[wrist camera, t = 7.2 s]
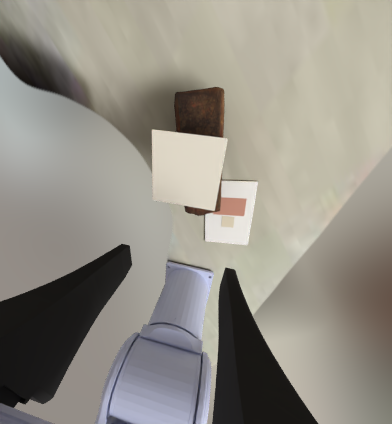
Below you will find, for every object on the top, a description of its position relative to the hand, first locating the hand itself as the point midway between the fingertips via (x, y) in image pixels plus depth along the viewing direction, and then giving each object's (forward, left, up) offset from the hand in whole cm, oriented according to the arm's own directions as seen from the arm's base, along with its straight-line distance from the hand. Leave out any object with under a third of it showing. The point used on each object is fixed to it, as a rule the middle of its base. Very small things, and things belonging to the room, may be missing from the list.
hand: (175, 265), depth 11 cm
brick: (+6, 0, -11) cm, 12 cm away
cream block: (+7, 0, -6) cm, 9 cm away
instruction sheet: (0, -4, -10) cm, 11 cm away
